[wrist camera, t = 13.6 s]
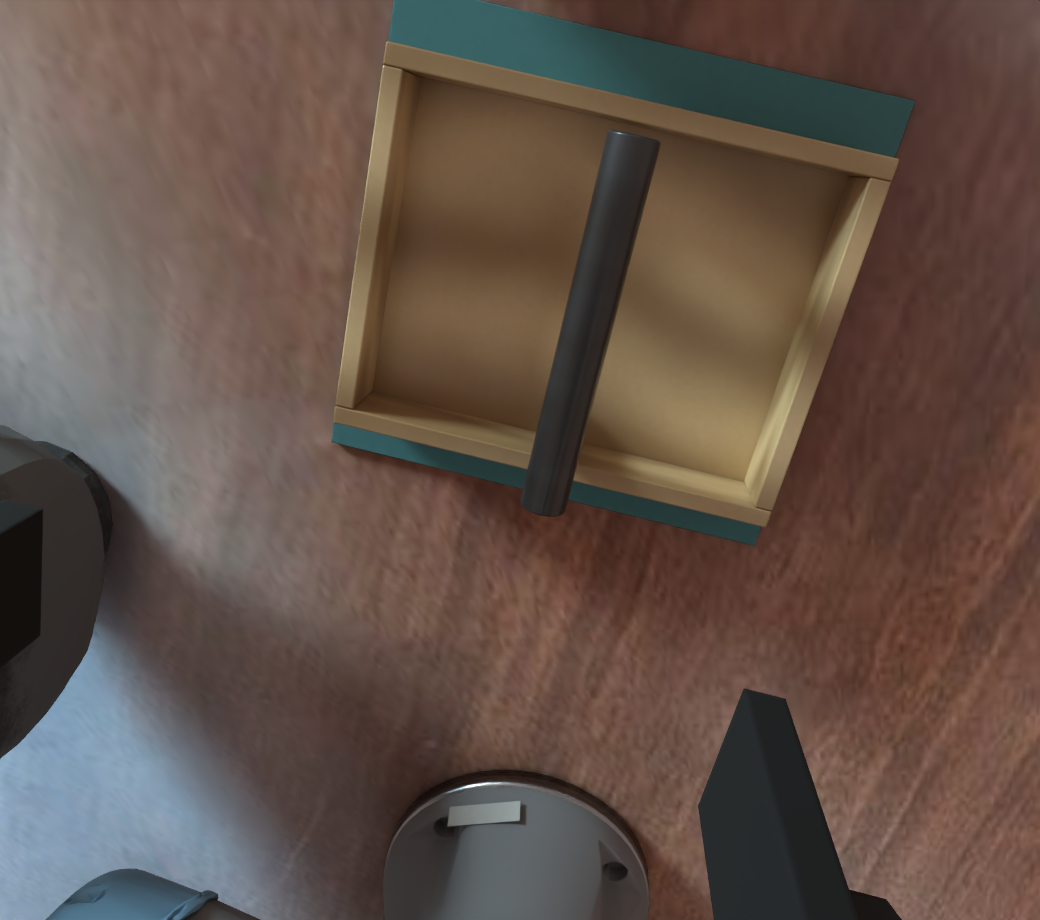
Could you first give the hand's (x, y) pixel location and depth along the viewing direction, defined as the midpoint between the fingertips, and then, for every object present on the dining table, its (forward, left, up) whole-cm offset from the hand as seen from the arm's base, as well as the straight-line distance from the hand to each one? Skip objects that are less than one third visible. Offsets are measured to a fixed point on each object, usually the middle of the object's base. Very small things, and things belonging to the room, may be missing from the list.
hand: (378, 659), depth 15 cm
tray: (+4, -2, -24) cm, 24 cm away
